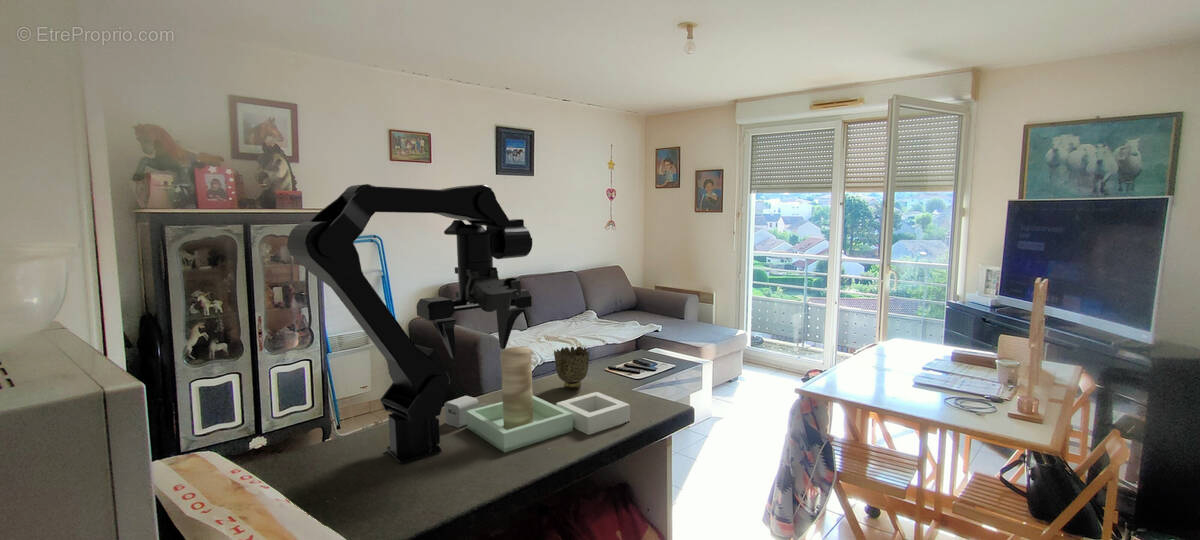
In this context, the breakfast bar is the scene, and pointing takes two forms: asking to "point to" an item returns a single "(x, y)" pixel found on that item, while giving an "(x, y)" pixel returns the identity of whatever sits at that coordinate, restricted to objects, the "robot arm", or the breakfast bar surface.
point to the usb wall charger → (460, 410)
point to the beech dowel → (517, 387)
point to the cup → (572, 366)
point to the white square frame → (596, 412)
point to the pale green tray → (544, 426)
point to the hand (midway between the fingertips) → (478, 353)
